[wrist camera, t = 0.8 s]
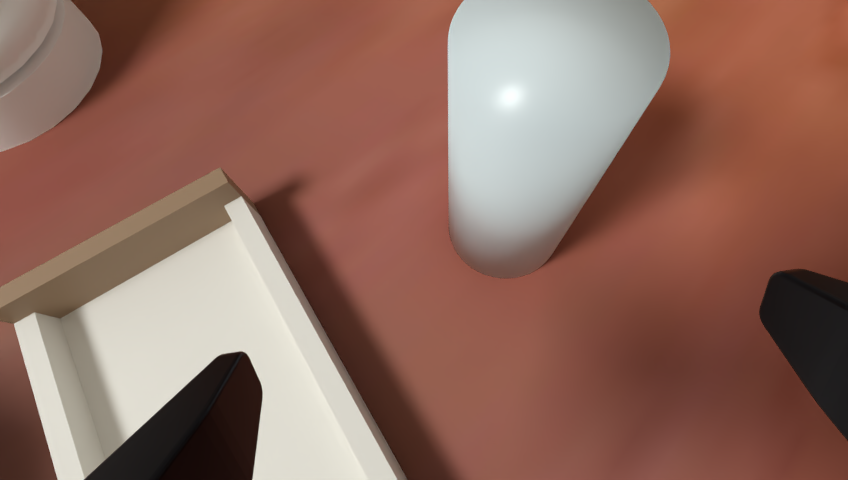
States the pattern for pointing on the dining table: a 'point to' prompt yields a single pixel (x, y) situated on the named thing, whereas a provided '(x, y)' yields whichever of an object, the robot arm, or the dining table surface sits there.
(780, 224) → the dining table surface
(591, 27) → the white rounded wedge
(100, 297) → the drawer
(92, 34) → the honey pot
